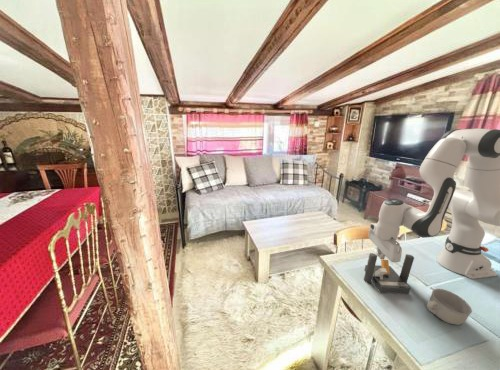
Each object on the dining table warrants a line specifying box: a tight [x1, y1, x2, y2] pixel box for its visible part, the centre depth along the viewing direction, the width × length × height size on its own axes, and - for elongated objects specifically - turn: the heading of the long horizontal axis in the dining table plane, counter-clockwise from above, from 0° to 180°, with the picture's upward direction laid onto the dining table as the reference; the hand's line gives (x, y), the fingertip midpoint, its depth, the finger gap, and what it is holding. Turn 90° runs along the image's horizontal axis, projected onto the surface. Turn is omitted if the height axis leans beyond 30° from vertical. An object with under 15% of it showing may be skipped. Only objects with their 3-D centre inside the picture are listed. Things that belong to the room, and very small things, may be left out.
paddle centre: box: [380, 259, 390, 275], centre depth 94 cm, size 2×2×7 cm
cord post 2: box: [399, 254, 415, 284], centre depth 91 cm, size 3×3×14 cm
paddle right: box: [374, 268, 387, 277], centre depth 90 cm, size 2×2×7 cm
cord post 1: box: [363, 252, 378, 284], centre depth 92 cm, size 3×3×14 cm
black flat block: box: [364, 264, 411, 295], centre depth 93 cm, size 12×14×3 cm
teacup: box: [426, 288, 473, 326], centre depth 76 cm, size 14×11×8 cm
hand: (380, 257), depth 97 cm, fingers closed
